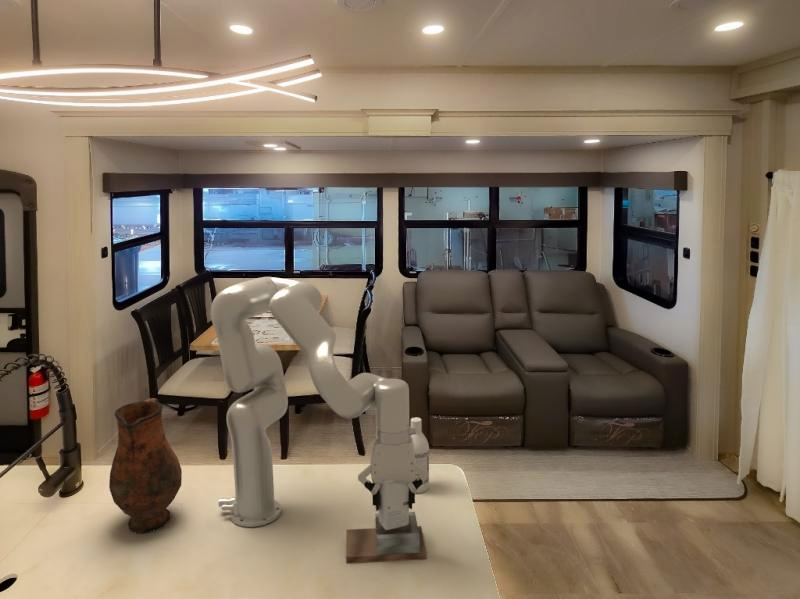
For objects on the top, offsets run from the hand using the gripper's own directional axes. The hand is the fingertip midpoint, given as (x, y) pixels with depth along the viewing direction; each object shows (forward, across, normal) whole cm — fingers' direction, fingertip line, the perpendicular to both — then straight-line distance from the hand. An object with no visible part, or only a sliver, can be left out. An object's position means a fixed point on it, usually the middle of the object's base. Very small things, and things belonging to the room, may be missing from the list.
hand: (393, 506), depth 147 cm
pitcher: (+10, +60, -18) cm, 64 cm away
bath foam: (+10, -8, -27) cm, 30 cm away
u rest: (+10, +2, 0) cm, 10 cm away
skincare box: (+4, 0, 0) cm, 4 cm away
